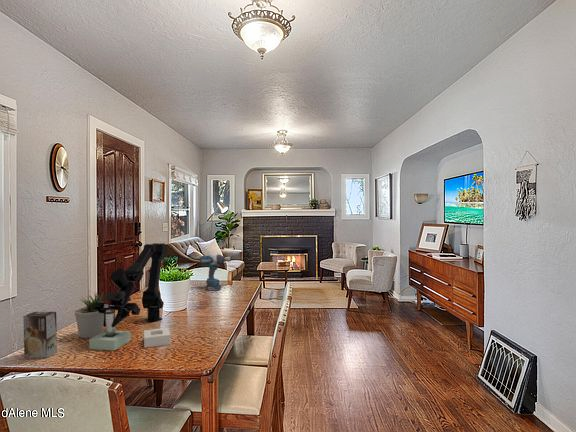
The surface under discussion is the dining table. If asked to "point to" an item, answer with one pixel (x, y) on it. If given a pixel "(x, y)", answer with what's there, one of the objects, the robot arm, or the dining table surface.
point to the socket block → (156, 337)
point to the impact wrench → (213, 269)
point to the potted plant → (89, 318)
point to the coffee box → (40, 334)
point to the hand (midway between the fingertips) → (108, 326)
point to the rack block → (109, 340)
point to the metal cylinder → (110, 322)
